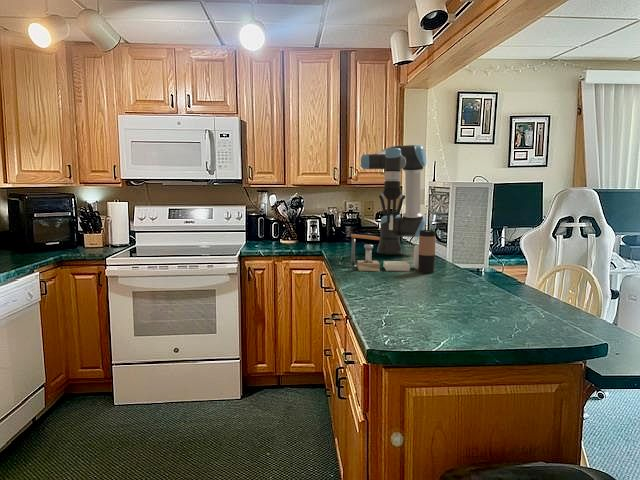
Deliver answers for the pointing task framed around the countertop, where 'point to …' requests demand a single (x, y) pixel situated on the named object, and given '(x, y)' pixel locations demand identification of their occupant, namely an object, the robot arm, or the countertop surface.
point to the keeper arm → (365, 237)
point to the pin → (368, 253)
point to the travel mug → (427, 251)
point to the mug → (416, 256)
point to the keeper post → (353, 254)
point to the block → (368, 265)
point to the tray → (396, 266)
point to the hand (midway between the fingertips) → (390, 229)
